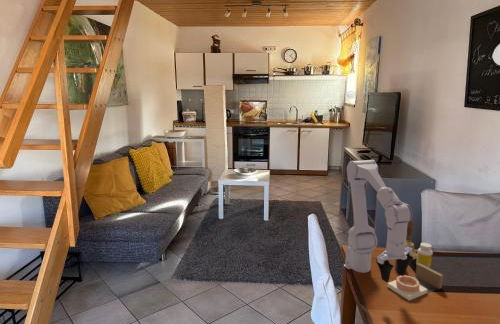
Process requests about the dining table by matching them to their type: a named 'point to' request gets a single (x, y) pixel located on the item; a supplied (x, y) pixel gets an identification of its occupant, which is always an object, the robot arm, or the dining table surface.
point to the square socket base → (407, 287)
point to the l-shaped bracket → (427, 278)
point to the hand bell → (408, 241)
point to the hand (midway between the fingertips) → (392, 277)
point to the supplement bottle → (424, 255)
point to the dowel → (396, 264)
